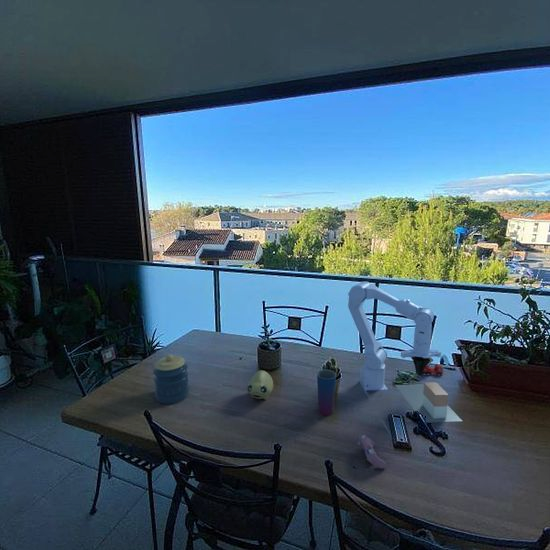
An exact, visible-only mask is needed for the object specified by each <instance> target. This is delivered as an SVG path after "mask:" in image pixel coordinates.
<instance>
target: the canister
mask: <svg viewBox="0 0 550 550" xmlns="http://www.w3.org/2000/svg"><path fill="white" fill-rule="evenodd" d="M188 368H189V366H188V364H187V363H186V359H184V358H183V357H182V356H179V355H174V354H172V353H170V354H169V353H168V354H167V355H166V356H164V357H162V358H159V360H157V361H156V362H155V363H154V368H153V370H152V374H153V375H154V377H153V383H154V396H155V399H156V402H158V403H160V404H162V405H173V404H177V403H179V402H182V401H184V400H185V399H186V398H187V397H188V396H189V393H190V386H189V372H188V371H187V369H188Z"/></svg>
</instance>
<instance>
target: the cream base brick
mask: <svg viewBox="0 0 550 550" xmlns="http://www.w3.org/2000/svg"><path fill="white" fill-rule="evenodd" d="M422 405H423V406H424V407H425V409H426V410H427V411H428V412H429V413H430V415H431V416H432V417H433V418H446V415H447V406H439V407H434V406H433V404H432V403H431V402H430V401H429V400H428V399H427V397H426V396H425V395H424V394H423V404H422Z"/></svg>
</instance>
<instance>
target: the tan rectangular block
mask: <svg viewBox="0 0 550 550" xmlns="http://www.w3.org/2000/svg"><path fill="white" fill-rule="evenodd" d="M423 384H424V391H423V394H424V395H425V396H426V397H427V399H428V400H429V401H430V402H431V403H432V404H433V406H434V407H439V406H447V405H448V403H449V402H448V401H449V394H448V392H447V391H446V390H445V389H444V388H443V387H442V386H440V384H438V383H437V382H434V381H433V382H432V381H431V382H423Z"/></svg>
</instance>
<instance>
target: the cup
mask: <svg viewBox="0 0 550 550" xmlns="http://www.w3.org/2000/svg"><path fill="white" fill-rule="evenodd" d="M316 378H317V379H316V381H317V405H318V413H319V414H320V415H322V416H325V417H329V416H332V414H333V412H334V411H333V410H334V401H335V391H336V390H335V389H336V383H337V373H336V372H335V371H333V370H331V369H320V370H318V371H317V373H316Z"/></svg>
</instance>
